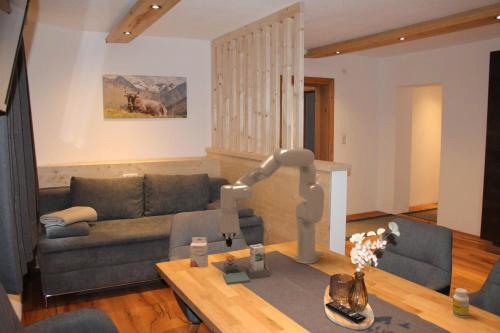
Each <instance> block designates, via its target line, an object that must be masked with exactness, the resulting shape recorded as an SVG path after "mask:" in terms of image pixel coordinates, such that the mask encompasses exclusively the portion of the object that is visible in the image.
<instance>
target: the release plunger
mask: <svg viewBox="0 0 500 333" xmlns="http://www.w3.org/2000/svg"><path fill="white" fill-rule="evenodd" d="M225 258H226V262H229V265H231V264H232V262H233V261H235V256H234V255H227V256H226V257H225Z"/></svg>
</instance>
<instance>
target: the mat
mask: <svg viewBox="0 0 500 333" xmlns="http://www.w3.org/2000/svg"><path fill="white" fill-rule="evenodd" d="M222 277H223V280H224V281H225V283H226V285H227V286H228V285H235V284H236V285H237V284H244V283H251V278H250V276H249V275H248V273H247V272H245V271H243V272H242V271H241V272H238V273H231V274H226V273H225V274H222Z"/></svg>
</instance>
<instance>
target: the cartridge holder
mask: <svg viewBox="0 0 500 333" xmlns="http://www.w3.org/2000/svg"><path fill="white" fill-rule="evenodd" d="M270 271H271V270H270V268H269V267H268V265H266V264H265V269H264V270H255V271H252V270H251V265H250V264H248V265H246V274H247V276H248V277H249V279H250V280H253V279H259V278H268V277H270V276H271V274H270V273H271V272H270ZM252 278H253V279H252Z"/></svg>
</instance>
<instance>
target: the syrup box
mask: <svg viewBox="0 0 500 333" xmlns="http://www.w3.org/2000/svg"><path fill="white" fill-rule="evenodd" d="M249 260H250V263H249V265H251V270H252V271H255V270H264V269H265V265H266V248H265V245H264V244H261V243H258V244H251V245H249Z"/></svg>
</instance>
